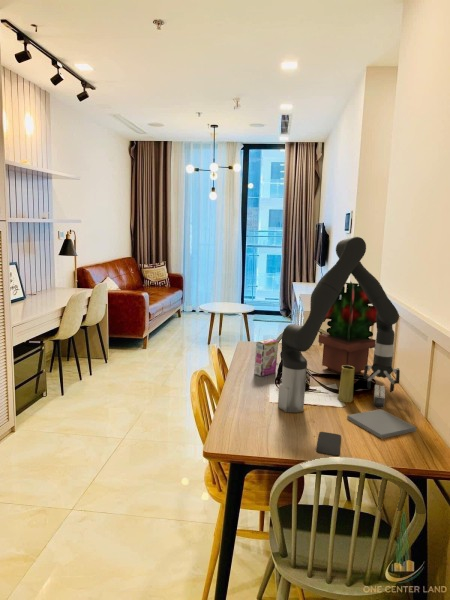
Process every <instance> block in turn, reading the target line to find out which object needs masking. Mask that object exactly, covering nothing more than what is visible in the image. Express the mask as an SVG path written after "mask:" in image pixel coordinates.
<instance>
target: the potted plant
mask: <svg viewBox="0 0 450 600" xmlns="http://www.w3.org/2000/svg"><path fill="white" fill-rule="evenodd" d="M349 281H350V282H346V283H345V285H346V287H345V285H344V286H343V288H342V290H341V291H340V293H339V295H338V297H337V299H336V300H335V302H334V304H333V305H332V307H331V308H330V310H329V312H328V314H327V316H326V317H325V319H324V321H323V323H324V322H326V320H328V321H327V323H326V325H327V326H328V328H326V329H325V331H326V333H323V334H319V335H318V343H319V344H322V345H323V350H322V359H321V360H322V361H321V366H323V367H325V368H326V369H327V371H330V372H333V373H335V372H336V374H338V373H339V374H338V375H341V371H342V366H343V365H349V366H353V367H354V368H355V373H354V375H356V374H357V375H358V374H361V373H362V371H364V370H365V365H366V364H368V363H369V362H368V361H369V353H370V349H375V344H376V339H374V338H372V337H373V336H374V332H373V331H370V329H371V327H373V326H375V324H376V314H377V310H376V308H375V307H374V306H373V305H372V304H371V303H370V301H369V300H368V298H367V296H366V294H365V293H364V291H363V289H362V288H361V286H360V285H359V283H358V282H357V283H355V282H352V281H351V280H349ZM368 365H369V364H368Z"/></svg>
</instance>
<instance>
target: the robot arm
mask: <svg viewBox="0 0 450 600" xmlns="http://www.w3.org/2000/svg"><path fill="white" fill-rule="evenodd" d="M366 251H367V243H366V241H365V240H364V238H362V237H360V236H352V237H347V238H344V239H342V240H340V241H339V242H338V243H337V244H336V247H335V253H336V256H337V258H338V260H337V261H336V263H334V265H332V267H331V268H329V270H327V272H326V273H325V274H324V275H322V277H321V278H320V279H319V281H318V282H317V283H316V285H315V286H314V289H313V290H312V292H311V295H310V303H309V305H310V310H309V314H308V317H307V319H306V321H305V322H304V323H303V325H299V324H294V323H290V324H288V325H286V327H284V329H283V331H282V336H281V352H280V353H281V360H282V370H281V371H282V372H281V373H282V375H281V383H279V385H278V396H277V397H278V399H277V408H279V409H280V410H282V411H283V412H285V413H295V414H296V413H301V412H303V411H304V407H305V406H304V405H305V394H306V382H307V381H306V380H307V371H308V369H307V368H308V360H307V358H305V356H304V355H303V354H302V353H304V352H307V351H308V350H310V348H311V347H312V346H313V344H314V343H315V340H316V338H317V336H318V334H319V331H320V329H321V327H322V325H323V323H324V322H323V321H324V319H325V317H326V316H327V314H328V312H329V310H330V308H331V307H332V305H333V304H334V302H335V300H336V299H337V297H338V295H339V293H340V291H341V290H342V288H343V286H344V287H345V285H346V284H345V283H347V281H348V279H349V278H350V276H351V275H352V276H353V277H354V279H355V280H356V282H357V283H358V284H359V285H360V286H361V288H362V289H363V291H364V293H365V294H366V296H367V298H368V300H369V301H370V303H371V304H370V305H371V306H374V307H375V308H376V310H377V314H376V323H375V324H376V337H375V340H376V343H375V348H374V350H373V360H372V365H369V364H366V365H365V370H363V371H364V372H363V378H362V379H364V380H366V381H367V382H366V383H367V384H366V387H367V389H368V390H369V391H370V390H371V387H372V380H373V379H375V377H377V378H384V379H386V378H387V379H388V381H389V382H390V385H389V393H390V394H391V393H393V392H394V391H395V385H397V384H400V377H401V376H400V368H393V361H394V354H395V353H394V352H395V348H394V347H395V346H394V345H395V337H396V335H395V333H396V332H395V331H394V330H393V325H395V324H397V323H398V321H399V319H400V314H399V311H398V310H397V308H396V307H395V305H394V304H393V302H392V301H391V300H390V299H389V297H388V296H387V294H386V291H385V290H384V288H383V286H382V285H381V283H380V282H379V280H378V279H377V278H376V277H375V276H374V275H373V274H372V273H371V272H369V270H367V268H366V267H365V266H364V265H363V264H362V262H361V260H362V259H363V258H364V256H365V255H366ZM359 285H358V286H359ZM370 370H371V371H372V372H371V374H370V375H369V376H368V371H370ZM392 373H394V375H395V379H394V378H393V376H392V375H391V374H392Z"/></svg>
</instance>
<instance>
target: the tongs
mask: <svg viewBox="0 0 450 600" xmlns="http://www.w3.org/2000/svg"><path fill="white" fill-rule="evenodd" d="M385 389H386V387H385V385H379V384H374V390H373V393H374V394H373V406H374V407H375V408H378V409H379V408H380V409H383V408H384V407H385V401H386V394H385V393H386V390H385Z"/></svg>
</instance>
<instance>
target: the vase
mask: <svg viewBox="0 0 450 600" xmlns="http://www.w3.org/2000/svg"><path fill="white" fill-rule="evenodd" d="M354 373H355V368H354V367H353V366H349V365H343V366H342V371H341V374H340V380H339V381H340V382H339V389H338V396H337V400H338V399H339V401H340V402H342V401H343V402H342V403H352V402H353V400H354V398H353V397H354V383H355V374H354Z"/></svg>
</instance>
